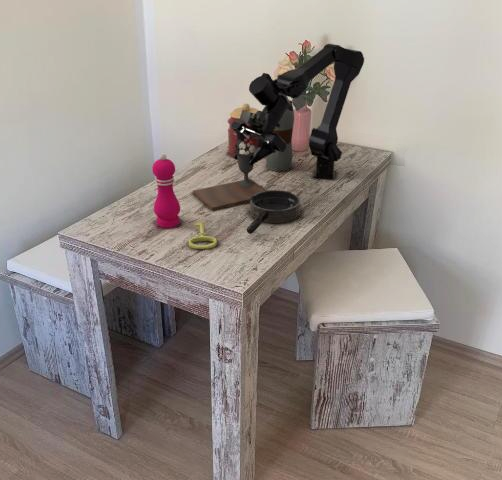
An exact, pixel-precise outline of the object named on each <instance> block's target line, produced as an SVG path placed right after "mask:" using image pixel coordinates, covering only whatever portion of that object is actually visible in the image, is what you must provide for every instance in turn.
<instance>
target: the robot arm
mask: <svg viewBox="0 0 502 480" xmlns="http://www.w3.org/2000/svg"><path fill="white" fill-rule="evenodd" d="M364 63H365V57H364V54H363V52H362V51H361V50H355V49H350V48H345V47H343V46H341V45H340V44H334V43H327V44H325V45H324V46H323V48H321V49H320V50H319V51H318V52H317V53H315V54H314V55H313V56H311V57H310V58H309V59H308V60H307V61H305V62H304V63H302V64H301V65H300V66H299V67H297V68H294V69H290V70H289V69H288V70H287V71H285V72H283V73H281V74H279V75H280V76H279V77H278V78H275V79H273V78H272V76H271V75H270V74H269V73H268V72H267V73H266V72H263V73H262V74H261V75H260V76H257V77H256V78H254V79H253V80H252V81H251V82H250V83H249V86H248V91H249V93H250V94H251V96H253V98H254V99H256V101H258V103H259V104H260V105H261V106H264V107H263V108H262V110H258V111H257V112H256V114H254V113H251V112H248V111H245V110H242V113H241V116H240V119H239V121H238V120H236V121H234V122H233V123H232V125H231V126H230V127H231V128H232V129H233V130H234V131H235V133H236V134H237V147H238V148H239V144H240V143H241V142H242V141H244V140H245V139H247V138H248V137H249V136H250V137H249V138H248V140H249V139H251V137H254V138H256V139H258V147H257V149H256V150H255V152H254V154H253V156H252V157H251V159H250V162H249V164H250V165H251V166H252V165H253V164H254V165H255V164H256V163H258V162H260V161H261V160H263V159H264V158H266V156H268V155H270V154H272V153H276V151H279V152H281V153H283V152H284V150H285V149H286V142H285V141H284V140H283V139H282V138H281V137H280V136H279V135H278V134H275V133H272V132H273V131H274V129H275V127H276V128H279V127H280V124H279V121H280V120H281V118H282V116H283V115H284V113H285V112H286V110H290V111H293V110H294V105H293V101H292V100H290V99H289V100H287V99H286V98H285V97H284V96H283V95H285V96H287V97H289V98H292V99H297V98H299V97H301V95H303V94H304V93H305V91H306V90H307V89H308V86H309V83H310V82H311V81H312V80H313V79H314V78H315V77H317V76H318V75H319V74H321V73H322V72H323V71H325V69H327V68H328V67H329V66H330V65H332V64H333V71H334V77H335V78H334V81H333V84H332V88H331V91H330V94H329V97H328V100H327V104H326V107H325V110H324V113H323V115H322V120H321V122H320V124H319V125H318V126H317V127H316V128H315V127H313V128H312V129H311V132H310V136H309V138H308V148H309V150H310V154H311V156H313V157H316V166H315V171H314V174H313V178H315V179H324V180H325V179H326V180H334V179H335V177H336V176H335V175H336V170H335V162H338V161H339V160H341V158H342V154H343V152H342V150H341V149H340V147H338V140H339V136H338V131H337V127H338V124H339V122H340V118H341V114H342V112H343V109H344V105H345V102H346V100H347V96H348V93H349V91H350V87H351V84H352V82H353V81H354V80H355V79H356V78H357V77H358V76H359V75H360V72H361V70H362V68H363V66H364ZM279 94H281V95H279ZM242 121H243V122H242ZM244 122H246V123H247V124H248V126H249V127H251V128H252V129H250V128H249V127H248V126H247V125H246V124H245V123H244ZM251 133H253V135H252V134H251ZM255 134H256V135H255ZM251 135H252V136H251ZM249 141H250V140H249ZM275 150H276V151H275ZM233 158H234V159H235V160H238V159H237V155H236V154H234V157H233Z"/></svg>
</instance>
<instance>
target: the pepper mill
mask: <svg viewBox="0 0 502 480" xmlns="http://www.w3.org/2000/svg"><path fill="white" fill-rule="evenodd" d="M158 158H159V159H157V160H155V161H154V163H153V164H152V168H151V171H152V174H153V175H154V181H155V184H156V186H157V196H156V198H155V200H154V204H153V213H154V214H155V216H157V217H156V225H157V227H159V228H163V229H171V228H172V229H173V228H175V227H177V226H178V225H179V224H180V216H179V214H180V212H181V204H180V202H179V199H178V198H177V196H176V194H175V190H174V185H173V184H175V176H174V175H175V173H176V166H175V163H174V162H173V161H172V160H170V159H169V158H167V155H166V154H165V153H160V154H159V157H158Z"/></svg>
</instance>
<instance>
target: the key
mask: <svg viewBox="0 0 502 480" xmlns="http://www.w3.org/2000/svg"><path fill="white" fill-rule="evenodd" d="M193 226H194V227H199V234H198V235H197V236H194V237H191V238H190V239H188V247H189V248H191V249H193V250H208V249H213V248H215V247H216V246H217V244H218V242H217V241H218V240H217V238H215V237H214V236H211V235H206V233H205V223H204V221H203V220H201V221H199V222H194V223H193ZM198 242H210V243H209V244H203V245H202V244H201V245H200V244H195V243H198Z"/></svg>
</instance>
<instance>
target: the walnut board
mask: <svg viewBox="0 0 502 480" xmlns="http://www.w3.org/2000/svg"><path fill="white" fill-rule="evenodd" d="M243 180H244V179H243ZM243 180H238V181H232V182H228V183H223V184H219V185H214V186H213V185H212V186H209V187H208V186H207V187H203V188H198V189H193V190H192V194H193V195H194V197H196V198H197V199H198V200H200V202H202V203H203V204H204V205H206V207H207V208H209V209H210V210H211V211H217V210H221V209H225V208H231V207H235V206H238V205H239V206H240V205H243V204H248V203H250V199H251V197H252V196H253V195H255V194H256V193H259V192H262V191H268V189H266V188H264V187H262V186H261V185H260V184H258V183H257V182H255V181H254V180H252V179H251V178H249V181H253V182H254V183H255V185H254V186H252V187H248V188H244V187H240V186H239V185H238V183H239V182H240V181H243Z"/></svg>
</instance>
